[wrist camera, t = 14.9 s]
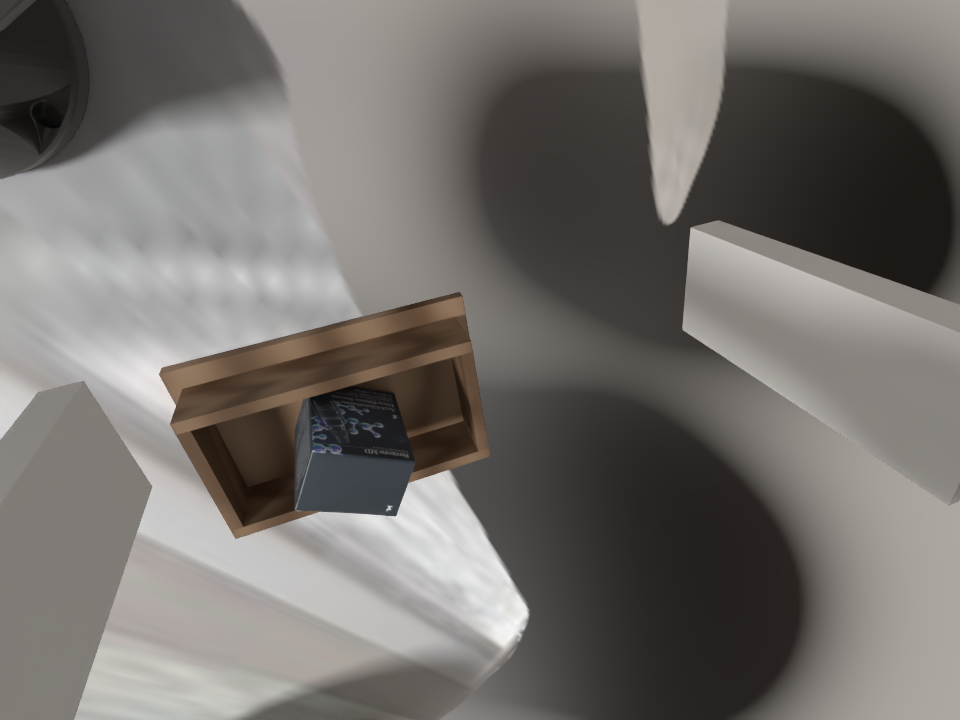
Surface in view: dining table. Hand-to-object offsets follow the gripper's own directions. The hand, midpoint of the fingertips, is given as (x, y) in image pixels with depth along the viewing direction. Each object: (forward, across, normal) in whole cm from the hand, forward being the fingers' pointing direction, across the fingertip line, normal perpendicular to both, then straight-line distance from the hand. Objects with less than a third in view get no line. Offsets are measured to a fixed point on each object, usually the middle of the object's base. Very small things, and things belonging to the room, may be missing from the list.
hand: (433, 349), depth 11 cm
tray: (+32, -5, -21) cm, 38 cm away
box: (+31, -5, -21) cm, 38 cm away
